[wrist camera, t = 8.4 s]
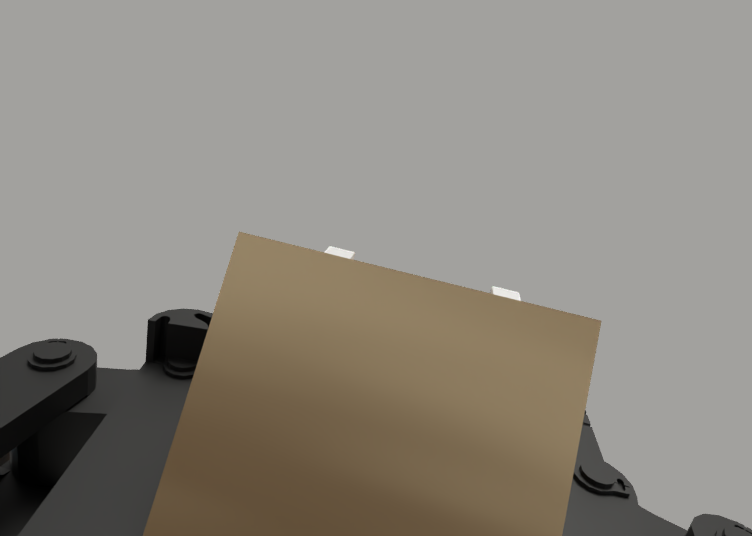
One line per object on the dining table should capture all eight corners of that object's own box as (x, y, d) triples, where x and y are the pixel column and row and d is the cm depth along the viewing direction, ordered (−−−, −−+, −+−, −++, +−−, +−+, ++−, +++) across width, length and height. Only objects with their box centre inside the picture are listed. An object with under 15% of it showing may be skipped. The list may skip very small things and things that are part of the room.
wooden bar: (522, 749, 5) (600, 320, 5) (117, 615, 5) (239, 231, 6) (418, 423, 34) (433, 362, 35) (359, 407, 35) (374, 347, 35)
